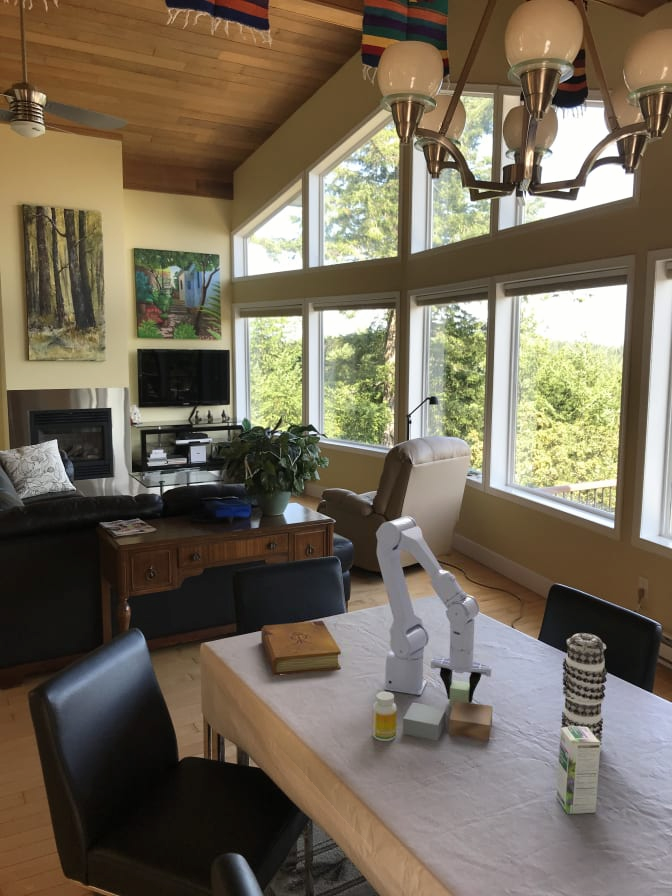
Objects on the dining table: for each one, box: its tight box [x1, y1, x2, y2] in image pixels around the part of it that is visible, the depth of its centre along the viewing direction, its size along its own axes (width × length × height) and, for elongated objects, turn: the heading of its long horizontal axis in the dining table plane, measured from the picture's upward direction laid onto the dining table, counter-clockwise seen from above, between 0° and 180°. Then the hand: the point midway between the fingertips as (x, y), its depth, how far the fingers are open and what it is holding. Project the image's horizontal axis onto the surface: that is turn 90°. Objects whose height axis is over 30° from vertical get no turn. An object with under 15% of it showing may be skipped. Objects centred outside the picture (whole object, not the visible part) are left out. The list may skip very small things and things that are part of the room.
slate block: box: [402, 702, 447, 742], centre depth 162 cm, size 8×8×4 cm
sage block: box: [448, 679, 470, 709], centre depth 173 cm, size 4×4×5 cm
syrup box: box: [556, 726, 601, 815], centre depth 134 cm, size 6×6×14 cm
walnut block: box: [448, 701, 494, 741], centre depth 162 cm, size 9×9×4 cm
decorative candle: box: [560, 632, 608, 753], centre depth 153 cm, size 9×9×25 cm
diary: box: [261, 620, 342, 676], centre depth 201 cm, size 23×19×6 cm
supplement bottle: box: [371, 691, 398, 742], centre depth 158 cm, size 5×5×10 cm
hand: (460, 699), depth 173 cm, fingers closed on sage block, 4 cm apart
